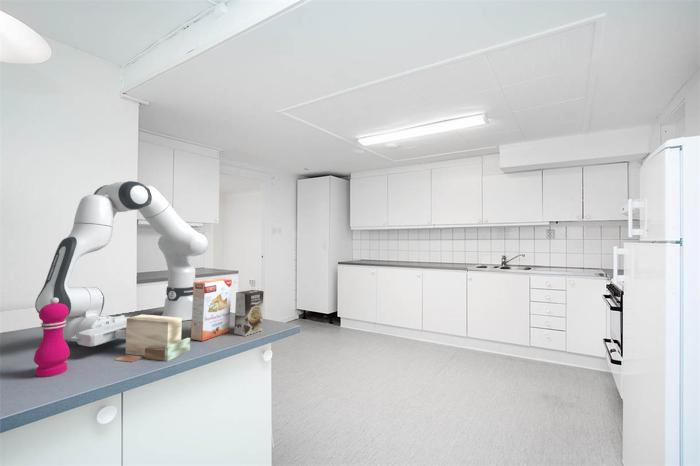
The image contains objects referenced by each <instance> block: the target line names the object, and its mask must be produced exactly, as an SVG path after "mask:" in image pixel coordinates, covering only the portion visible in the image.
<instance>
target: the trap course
mask: <svg viewBox="0 0 700 466" xmlns="http://www.w3.org/2000/svg"><path fill="white" fill-rule="evenodd" d="M189 351H191V337H186V338H183V339H181V341H179V342H176V343H174V344H172V345H169V346H167V347H165V349H157V348H148V347H147V348H145V356H142V355H133V354H125V355H122V356H119V357H117V358H114V361H118V362H126V363H134V362H136V361H138V360H141V359H142V358H144V359H145V360H146V359H147V360H154V361H162V362H164V361H165V362H169V361H171V360H172V359H174V358H177V357H178V356H181V355H183V354H186V353H187V352H189Z"/></svg>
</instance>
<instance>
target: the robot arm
mask: <svg viewBox="0 0 700 466" xmlns="http://www.w3.org/2000/svg"><path fill="white" fill-rule="evenodd" d="M136 210H137V211H139V213H140V214H141V215H142V217H143V218H144V219H145V220H146V221H147V223H148V224H149V225H150V227H152V228H153V230H154V232H156V233H158V234H160V237H159V238H158V241H157V245H158V249H159V250H160V251H161V253H163V256H164V259H165V262H166V265H167V286H166V290H165V291H166V292H165V294H166V297H165V300H164V306H163V313H162V314H161V316H168V317H180V318H182V321H190V320H191V321H192V304H193V284H194V282H196V268H195V266H194V265H193V264H192V262H191V260H190V259H191V258H190V257H197V256H201V255H203V254H204V253H206V252H207V250H208V247H209V241H208V237H207V236H206V235H204V234H202V233H200V232H199V231H197V230H196V229H194V228H193V227H192V226H191V225H190V224H188V222H186V221H185V220H184V219H183V218H182V217H180V215H179V214H178V213H177V212H176V210H175V209H174V208H173V207H172V205H171V204H170V202H169V201H168V200H167V199H166V198H165V196H164V195H162V193H161V192H160V191H159V190H158V189H157V188H156V187H154V185H150V184H143V183H142V182H138V181H133V180H129V181H118V182H114V183H109V184H105V185H102V186H100V187H99V188H97V189H96V190H95V191H94V193H92V194H88V195H84V196H83V197H82V198H81V199H80V200H79V203H78V206H77V208H76V211H75V215H74V219H73V227H72V229H71V231H70V233H69V234H68V236H67V237H65V238H63V239H62V240H61V241H60V242H59V244H58V246H57V249H55V250H56V251H55V252H54V255H53V259H52V262H51V264H50V268H49V270H48V273H47V275H46V279H45V282H44V283H43V284H44V285H43V286H42V289H40V292H39V294H38V295H37V298H36V300H35V304H34V308H35V310H36V312H37V313H38V314H39V312H40V310H41V309H42V308H43V307H44V306H46V305H48V304H51V302H50V300H51V299H52V298H58V299H59V302H58V303H61V304H64V305H66V306H67V307H68V310H69V313H68V316H67V317H66V318H65V319H64V320H65V321H66V322H65V324H66V325H65V326H64V328H63V337H64V340H65V341H68V342H75V343H77V345H80V346H84V347H96V346H99V345H102V344H106V343H108V342H111V341H114V340H118V339H121V338H126V325H127V318H130V317H131V316H125V314H116V315H101V314H102V312H103V309H104V306H105V296H104V293H103V292H102V290H100V289H99V288H98V287H95V286H78V287H77V286H72V287H71V286H69V282H70V280H71V275H72V272H73V270H74V266H75V264H76V262H77V261H78V260H79V259H80V258H81V257H82V256H84V255H88V254H90V253H95V252H97V251H99V250H100V251H101V250H102V249H103V248H105V247H107V245H109V243H110V242H111V239H112V236H113V229H114V218H115V216H116V214H117V213H125V212H126V213H127V212H128V211H130V212H131V211H136Z"/></svg>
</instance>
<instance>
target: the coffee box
mask: <svg viewBox="0 0 700 466" xmlns="http://www.w3.org/2000/svg"><path fill="white" fill-rule="evenodd" d="M264 292H265V291H264V290H259V289H258V290H256V289H255V290H254V289H250V290H244V291H243V290H242V291H237V292H236V293H235V307H234V308H235V310H234V311H235V313H234V332H233V334H235V335H238V336H243V337H248V336H250V334H251V335H254V334H257V333H260V332H259V331H261V332H263V321H264V320H263V317H264ZM256 332H257V333H256ZM253 333H254V334H253ZM247 335H248V336H247Z"/></svg>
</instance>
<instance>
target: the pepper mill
mask: <svg viewBox="0 0 700 466" xmlns="http://www.w3.org/2000/svg"><path fill="white" fill-rule="evenodd" d="M50 302H51V304H48V305H46V306H44V307H43V308H42V309H41V310H40V312H39V313H38V318H39V319H40V320H41V323H40V325H41V326H40V329H42V339H41V342H40V344H39V346H38V347H37V349H36V351H35V353H34V356H33V362H34V363H35V364H36V365H37V367H36V368H35V376H36V377H38V378H45V377H47V378H48V377H54V376H57V375H60V374H63V373H65V372H66V371H67V369H68V363H67V362H66V361H67V360H68V359H69V357H70V355H71V353H70V347H69V345H68V343H67V342H66V340H64V337H63V328H64V326H65V325H66V324H65V322H66V321H65V320H64V319H65V318H66V317H67V316H68V313H69V310H68V307H67V306H66V305H64V304H61V303H58V302H59V299H58V298H52V299H51V300H50Z"/></svg>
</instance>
